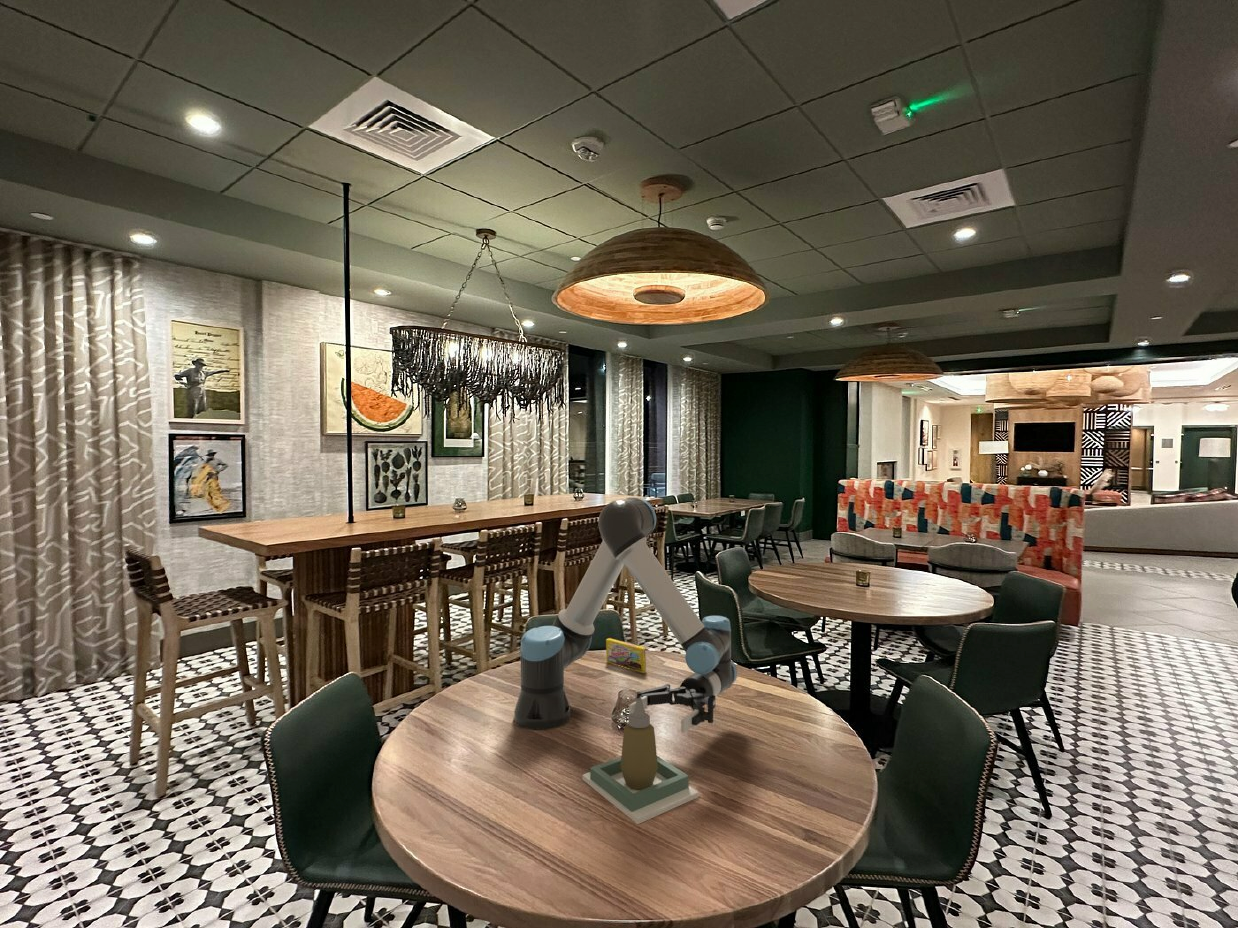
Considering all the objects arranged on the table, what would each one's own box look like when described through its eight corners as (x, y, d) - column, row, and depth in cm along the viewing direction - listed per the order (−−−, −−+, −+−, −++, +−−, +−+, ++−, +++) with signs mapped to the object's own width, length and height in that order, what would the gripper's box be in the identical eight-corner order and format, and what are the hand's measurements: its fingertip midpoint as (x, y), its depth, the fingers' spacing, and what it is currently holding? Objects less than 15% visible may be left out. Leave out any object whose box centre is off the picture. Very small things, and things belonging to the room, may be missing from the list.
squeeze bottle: (655, 795, 124) (655, 708, 124) (616, 791, 125) (616, 705, 125) (660, 775, 132) (660, 693, 132) (624, 771, 133) (624, 690, 133)
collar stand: (582, 779, 132) (582, 763, 132) (639, 758, 141) (639, 743, 141) (637, 824, 116) (637, 806, 116) (698, 796, 125) (698, 780, 125)
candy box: (605, 662, 208) (605, 638, 208) (609, 661, 209) (609, 637, 209) (642, 673, 197) (642, 648, 197) (646, 671, 199) (646, 646, 199)
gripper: (746, 715, 144) (706, 750, 127) (657, 692, 159) (610, 721, 141) (746, 683, 144) (706, 715, 127) (657, 663, 158) (610, 689, 141)
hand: (655, 718), depth 134 cm, fingers open, 13 cm apart
